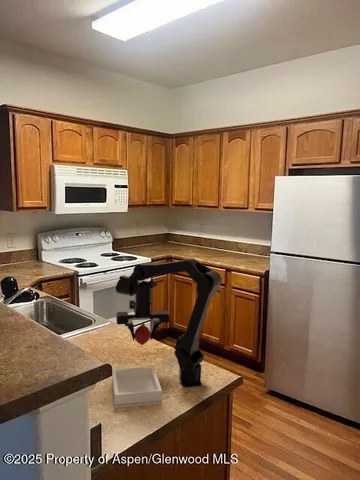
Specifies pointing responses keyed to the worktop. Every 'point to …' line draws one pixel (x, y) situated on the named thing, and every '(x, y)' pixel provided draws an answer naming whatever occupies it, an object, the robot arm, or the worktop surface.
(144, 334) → the onion
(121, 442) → the worktop surface
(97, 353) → the worktop surface
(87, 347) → the worktop surface
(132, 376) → the bin
